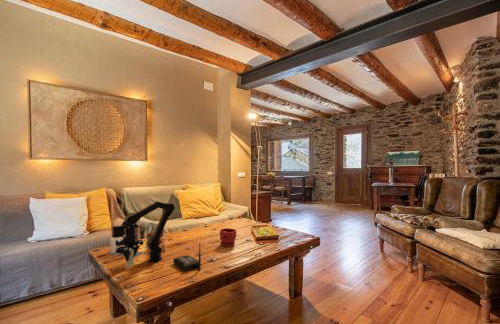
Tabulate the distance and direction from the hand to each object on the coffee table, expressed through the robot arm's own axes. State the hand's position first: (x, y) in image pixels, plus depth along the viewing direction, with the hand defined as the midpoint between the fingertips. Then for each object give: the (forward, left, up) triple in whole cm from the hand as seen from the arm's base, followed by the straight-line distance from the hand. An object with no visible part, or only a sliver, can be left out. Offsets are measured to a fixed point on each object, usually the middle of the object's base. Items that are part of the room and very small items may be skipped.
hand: (130, 259), depth 158 cm
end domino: (+28, -18, -3) cm, 33 cm away
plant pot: (-48, -53, -4) cm, 72 cm away
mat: (+18, -18, -4) cm, 26 cm away
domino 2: (+18, -18, -3) cm, 26 cm away
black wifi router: (-36, -8, -5) cm, 37 cm away
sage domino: (0, 0, -4) cm, 4 cm away
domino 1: (+23, -18, -3) cm, 29 cm away
